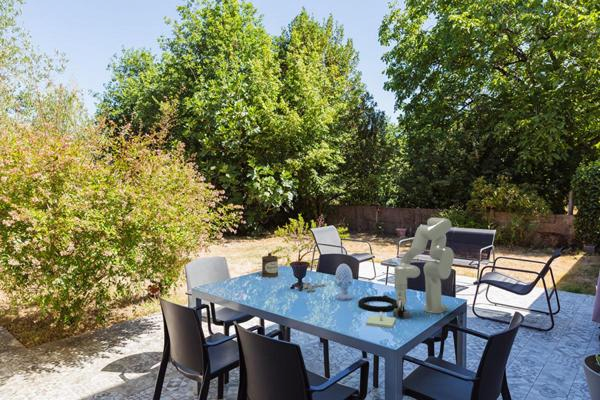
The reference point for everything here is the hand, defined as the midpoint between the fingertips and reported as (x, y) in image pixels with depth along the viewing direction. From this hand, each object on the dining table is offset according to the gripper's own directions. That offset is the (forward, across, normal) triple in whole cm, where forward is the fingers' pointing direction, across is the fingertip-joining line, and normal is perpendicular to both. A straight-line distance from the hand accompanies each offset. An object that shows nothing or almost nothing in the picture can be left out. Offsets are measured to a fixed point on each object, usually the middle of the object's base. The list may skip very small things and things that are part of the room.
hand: (401, 314), depth 232 cm
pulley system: (+2, +48, +76) cm, 90 cm away
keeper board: (+1, -16, +10) cm, 19 cm away
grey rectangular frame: (+1, 0, 0) cm, 1 cm away
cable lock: (+1, +18, +17) cm, 25 cm away
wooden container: (+1, +77, +130) cm, 151 cm away
